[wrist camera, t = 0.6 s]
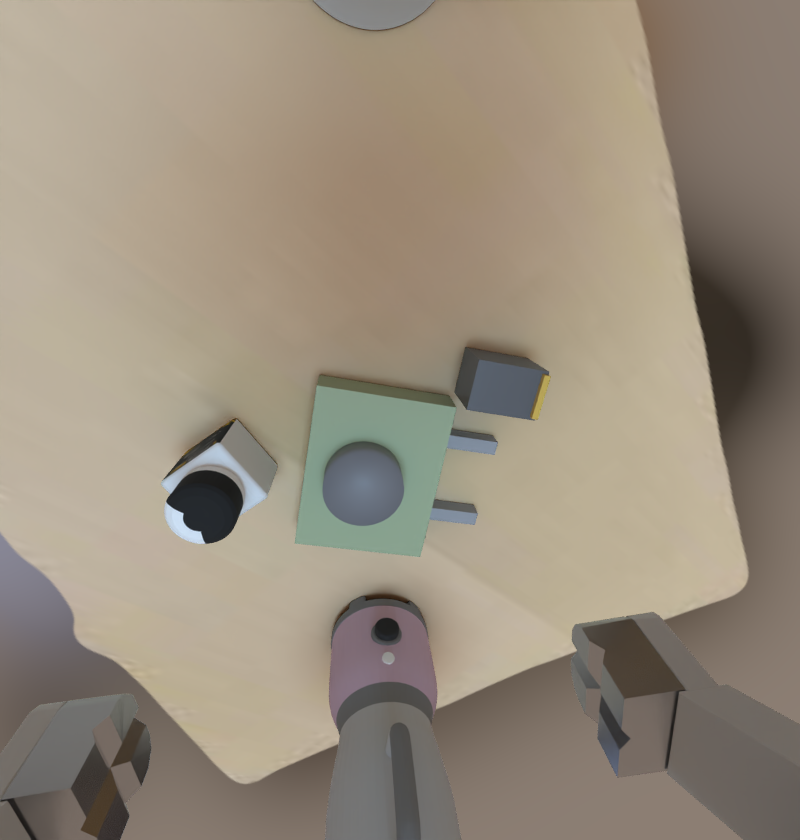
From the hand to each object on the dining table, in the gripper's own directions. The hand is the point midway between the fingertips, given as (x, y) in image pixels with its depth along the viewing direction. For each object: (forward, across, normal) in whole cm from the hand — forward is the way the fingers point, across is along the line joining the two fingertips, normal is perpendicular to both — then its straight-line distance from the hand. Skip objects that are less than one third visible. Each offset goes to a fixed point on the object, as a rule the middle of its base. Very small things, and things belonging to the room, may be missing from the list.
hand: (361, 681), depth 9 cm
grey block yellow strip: (+41, -14, +6) cm, 44 cm away
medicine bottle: (+42, +15, +12) cm, 46 cm away
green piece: (+41, -3, +16) cm, 44 cm away
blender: (+42, +2, +37) cm, 56 cm away
